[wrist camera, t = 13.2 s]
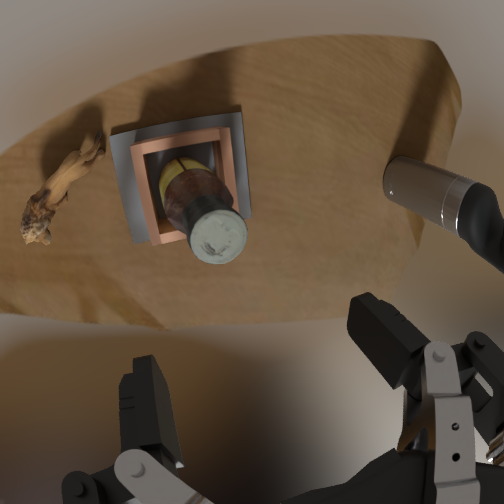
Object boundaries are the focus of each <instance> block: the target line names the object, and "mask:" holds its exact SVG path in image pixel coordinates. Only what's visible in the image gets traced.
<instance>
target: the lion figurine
mask: <svg viewBox="0 0 504 504" xmlns="http://www.w3.org/2000/svg"><path fill="white" fill-rule="evenodd" d="M101 135H102V132H101V131H99V132H98V134H97V136H96V137H95V144H94V146H93V147H92V148H91V149H90V150H89V151H88V152H86V153H85V154H83V155H82V156H80V154H81V151H80V150H77V151H76V150H74V151H72V152H70V154H69V155H68V156H67V157H66V158H65V159H64V161H63V162H62V164H61V165H60V167H59V168H58V170H57V171H56V172H55V173H54V174H52V175H51V176H50V177H49V178H48V179H47V180H46V182H45V183H44V184H43V186H42V187H41V189H40V190H39V191H38V192H37V193H36V194H34V195H33V196H31V197H30V199H29V201H28V202H27V206H26V209H25V210H24V213H23V215H22V222H21V228H20V230H21V231H22V236H23V238H24V239H25V241H26V244H28V243H30V242H33V241H36V242H40V241H41V242H43V243H44V244H46V245H48V244H50V242H51V241H50V240H51V234H50V232H49V230H48V228H47V227H48V225H49V224H50V223H51V219H52V218H53V216H54V214H55V212H56V210H57V209H58V208H59V207H60V206H61V204H62V203H63V204H64V203H66V202H67V196H66V195H65V193H66V191H67V190H68V188H69V187H70V185H71V183H72V181H73V180H75V179H78V178H80V177H82V176H83V175H85V174H86V173H88V172H89V171H90V170H91V169H92V167H93V166H94V165H95V163H96V162H97V161H98V160H99V159H102V158H103V157H104V156H105V152H104V151H103V150H99V151H98V152H97V153H96V155H95V156H94V158H93V159H91V160H90V161H86V160H87V158H88V157H89V156H90V155H92V154H93V152H94V151H95V150H96V149H97V147H98V143H99V140H100V138H101Z"/></svg>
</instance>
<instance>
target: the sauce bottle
mask: <svg viewBox="0 0 504 504" xmlns="http://www.w3.org/2000/svg"><path fill="white" fill-rule="evenodd" d="M159 189H160V194H161V198H162V203H163V207H164V210H165V213H166V215H167V219H168V220H169V221H170V222H171V224H172V225H173V226H174V227H175V228H176V229H177V230H179V231H180V232H182V233H184V234H186V237H187V241H188V243H189V246H190V248H191V250H192V251H193V253H194V254H195V256H196V257H197V258H199V259H200V260H202V261H204V262H207V263H210V264H224V263H227V262H229V261H231V260H233V259H234V258H235V257H236V256H238V255H239V253H240V252H241V251H242V250H243V248H244V246H245V244H246V241H247V237H248V235H247V233H248V229H247V225H246V223H245V221H244V220H243V218H242V217H241V216H240V214H239V213H238V212H237V211H236V210H235V209H233V208H232V206H233V203H234V199H233V196H232V195H231V193H230V191H229V189H228V188H227V186H226V185H225V184H224V182H222V181H221V180H220V179H219V177H218V176H216V175H215V174H214V173H213V172H212V171H210V170H209V169H208V168H206V167H205V166H204V165H203V164H201V163H200V162H199V161H197V160H195V159H193V158H188V157H181V158H175V159H173V160H171V161H170V162H169V163H167V164H166V166H165V167H164V168H163V169H162V171H161V173H160V177H159Z"/></svg>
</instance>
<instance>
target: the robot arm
mask: <svg viewBox="0 0 504 504" xmlns="http://www.w3.org/2000/svg"><path fill="white" fill-rule="evenodd" d="M383 187H384V192H385V194H386V196H387V198H388V199H389V200H391V201H393V202H395V203H397V204H399V205H401V206H403V207H405V208H407V209H408V210H410V211H412V212H414V213H416V214H418V215H420V216H422V217H424V218H426V219H428V220H430V221H431V222H433V223H435V224H437V225H439V226H441V227H442V228H444V229H446V230H448V231H450V232H451V233H453V234H455V235H457V236H459V237H460V238H462V239H464V240H465V241H466V242H467V243H468V244H469V246H470V247H471V248H472V250H474V252H476V253H477V254H478V255H479V256H481V257H482V258H484V259H485V260H486V261H488V262H489V263H490V264H492V265H493V266H494V267H496V268H497V269H498V270H499V271H501V272H502V273H503V274H504V219H503V217H502V215H501V212H500V209H499V206H498V201H497V198H496V195H495V193H494V191H493V190H492V189H491V188H490V187H488V186H486V185H483V184H481V183H479V182H476V181H474V180H472V179H469V178H467V177H464V176H461V175H459V174H456V173H453V172H450V171H448V170H445V169H442V168H439V167H437V166H434V165H431V164H428V163H425V162H422V161H419V160H415V159H412V158H409V157H405V156H398V157H396V158H394V159H393V160H392V161H391V162H390V163H389V165H388V166H387V168H386V171H385V174H384V179H383ZM347 330H348V333H349V335H350V337H351V338H352V340H353V341H354V342H355V343H356V344H357V346H358V347H359V348H360V349H361V351H362V352H363V353H364V354H365V355H366V356H367V358H368V359H369V360H370V361H371V363H372V364H373V365H374V366H375V368H376V369H377V370H378V371H379V373H381V375H382V376H383V377H384V379H385V380H386V381H387V382H388V384H389V385H390V386H391V387H392V389H393V390H394V389H396V388H398V387H399V386H401V385H403V386H404V387H405V390H404V396H403V397H404V399H403V427H402V432H401V435H400V438H399V441H398V445H397V451H396V450H395V448H393V449H391V450H390V451H388V452H386V453H385V454H383V455H382V456H380V457H378V458H376V459H374V460H373V461H371V462H369V464H367V465H366V466H365V467H364V468H363V469H362V470H361V471H359V472H358V473H357V474H356V475H355V476H353V477H352V478H351V479H350V480H349V481H348V482H346V483H343V484H340V485H335V486H331V487H326V488H321V489H315V490H311V491H308V492H306V493H303V494H300V495H298V496H295V497H292V498H290V499H287V500H284V501H281V502H280V504H504V352H502V350H500V348H499V347H498V346H497V345H496V344H495V343H494V342H493V341H492V340H491V339H490V338H489V337H488V336H487V335H485V334H483V333H481V332H477V331H475V332H471V333H469V335H468V336H467V338H466V340H465V342H464V343H460V344H456V345H453V346H449V345H448V344H446V343H444V342H441V341H434V342H431V341H430V340H429V339H428V338H427V337H425V336H424V335H423V334H422V333H421V332H420V331H419V330H418V329H417V328H416V327H415V326H414V325H413V324H412V323H411V322H410V321H409V320H407V319H406V317H404V315H402V314H400V312H399V311H398V310H397V309H396V308H395V307H394V306H393V305H391V304H389V303H387V302H385V301H383V300H378V299H377V298H376V297H375V296H374V295H373V294H371V293H370V292H366V293H364V294H361V295H358V296H356V297H353V298H352V299H351V302H350V308H349V314H348V320H347ZM478 372H479V374H480V375H481V376H482V377H483V378H484V379H485V380H486V382H487V383H488V384H489V385H490V386H491V387H492V389H493V397H491V396H490V395H489V394H488V393H487V392H486V390H485V389H484V388H483V387H482V386H481V384H480V383H479V382H478V381H477V380H476V379H475V376H476V374H477V373H478ZM119 400H120V401H119V409H120V412H119V417H120V435H121V453H120V456H119V457H118V458H117V459H116V462H115V463H114V464H113V465H112V466H111V467H109V468H107V469H104V470H102V471H99V472H97V473H94V474H91V475H88V474H86V473H84V472H81V471H74V472H71V473H69V474H67V475H66V477H65V478H64V479H63V482H62V497H63V504H214V503H212V502H211V501H209V500H207V499H206V498H205V497H203V496H202V495H200V494H199V493H197V492H196V491H194V490H193V489H192V488H190V487H189V486H187V485H186V484H185V483H183V482H182V481H181V480H180V479H179V477H178V473H177V469H176V468H179V467H184V463H183V459H182V455H181V450H180V446H179V441H178V436H177V431H176V426H175V421H174V416H173V410H172V405H171V399H170V393H169V389H168V385H167V382H166V380H165V378H164V376H163V374H162V371H161V370H160V368H159V366H158V364H157V362H156V359H155V357H154V356H153V355H147V356H143V357H137V358H134V359H133V373H129V374H125V375H124V376H123V378H122V380H121V383H120V385H119ZM474 427H475V428H476V429H477V431H478V432H479V433H480V435H481V436H482V438H483V439H484V440H485V442H486V443H487V444H488V446H489V451H488V452H487V454H486V459H487V460H488V461H493V464H486V463H479V462H475V438H474Z"/></svg>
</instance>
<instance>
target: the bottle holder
mask: <svg viewBox="0 0 504 504" xmlns="http://www.w3.org/2000/svg"><path fill="white" fill-rule="evenodd" d="M109 139H110V145H111V150H112V156H113V161H114V166H115V171H116V175H117V180H118V185H119V189H120V193H121V197H122V202H123V206H124V210H125V214H126V217H127V221H128V225H129V229H130V232H131V236H132V239H133V243H134V244H137V243H141V242H145V241H149V240H151V244H152V246H155V245H159V244H163V243H167V242H172V241H176V240H180V239H185V238H187V237H186V234H184V233H182V232H180V231H179V230H177V229H176V228H175V227H174V226H173V225H172V224H171V222H170V221H169V220H168V219H167V215H166V213H165V210H164V207H163V203H162V198H161V194H160V189H159V177H160V173H161V171H162V169H163V168H164V167H165V166H166V164H167V163H169V162H170V161H171V160H173V159H175V158H181V157H188V158H193V159H195V160H197V161H199V162H200V163H201V164H203V165H204V166H205V167H206V168H208V169H209V170H210V171H212V172H213V173H214V174H215V175H216V176H218V177H219V179H220V180H221V181H222V182H224V184H225V185H226V186H227V188H228V189H229V191H230V193H231V195H232V196H233V199H234V203H233V206H232V208H233V209H235V210H236V211H237V212H238V213H239V214H240V216H241V217H242V218H243V219H247V218H251V207H250V197H249V187H248V176H247V166H246V156H245V146H244V135H243V125H242V115H241V112H235V113H226V114H218V115H211V116H204V117H197V118H191V119H185V120H179V121H174V122H168V123H163V124H158V125H154V126H149V127H145V128H140V129H136V130H132V131H128V132H124V133H120V134H116V135H112V136H109Z"/></svg>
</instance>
